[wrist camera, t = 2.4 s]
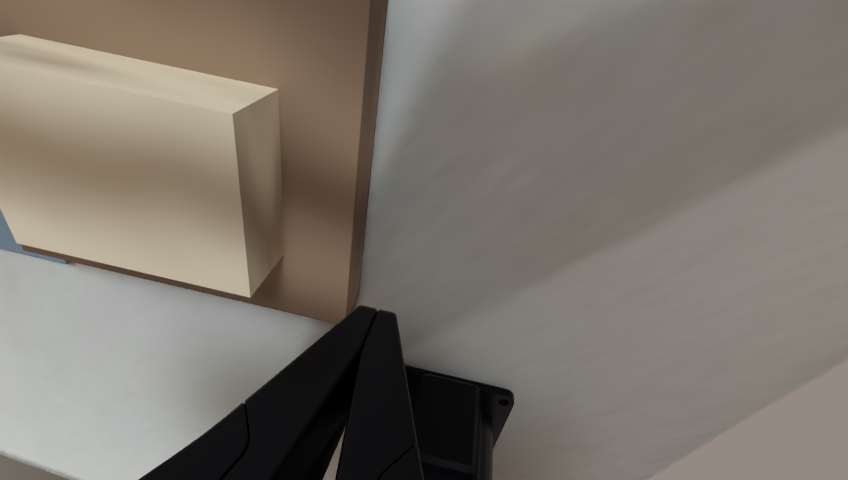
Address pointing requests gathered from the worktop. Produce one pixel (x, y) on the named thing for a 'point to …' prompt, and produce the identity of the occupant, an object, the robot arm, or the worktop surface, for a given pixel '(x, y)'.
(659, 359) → the worktop surface
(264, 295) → the walnut board
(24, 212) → the beech tile
